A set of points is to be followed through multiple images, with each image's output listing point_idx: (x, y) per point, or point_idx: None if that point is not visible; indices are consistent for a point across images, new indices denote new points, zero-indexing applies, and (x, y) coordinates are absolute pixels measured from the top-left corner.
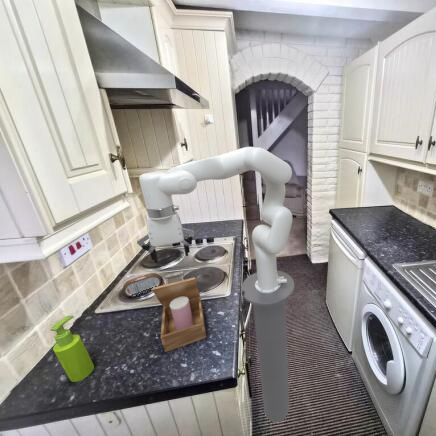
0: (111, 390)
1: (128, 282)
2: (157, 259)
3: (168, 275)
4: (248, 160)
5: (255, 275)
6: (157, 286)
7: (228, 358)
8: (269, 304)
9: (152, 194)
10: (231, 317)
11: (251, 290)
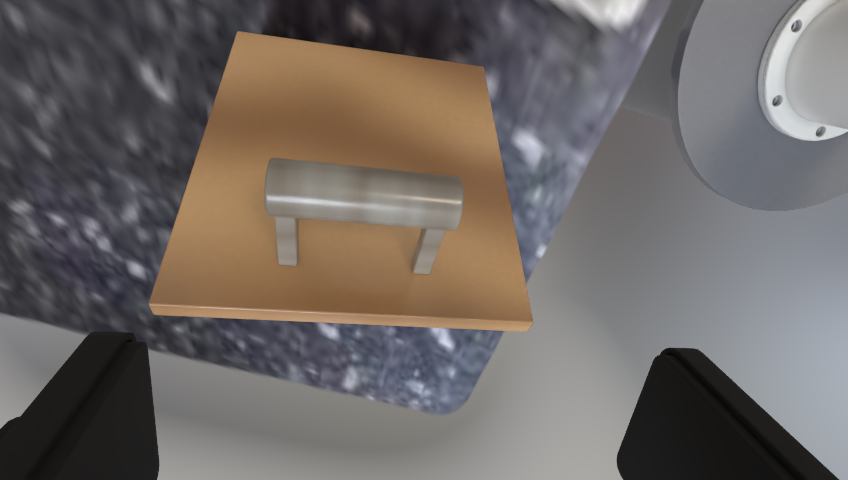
0: (78, 312)
1: None
2: (148, 403)
3: (307, 213)
4: None
5: None
6: (201, 308)
7: (469, 371)
8: (728, 199)
9: None
10: (556, 202)
11: (738, 51)
